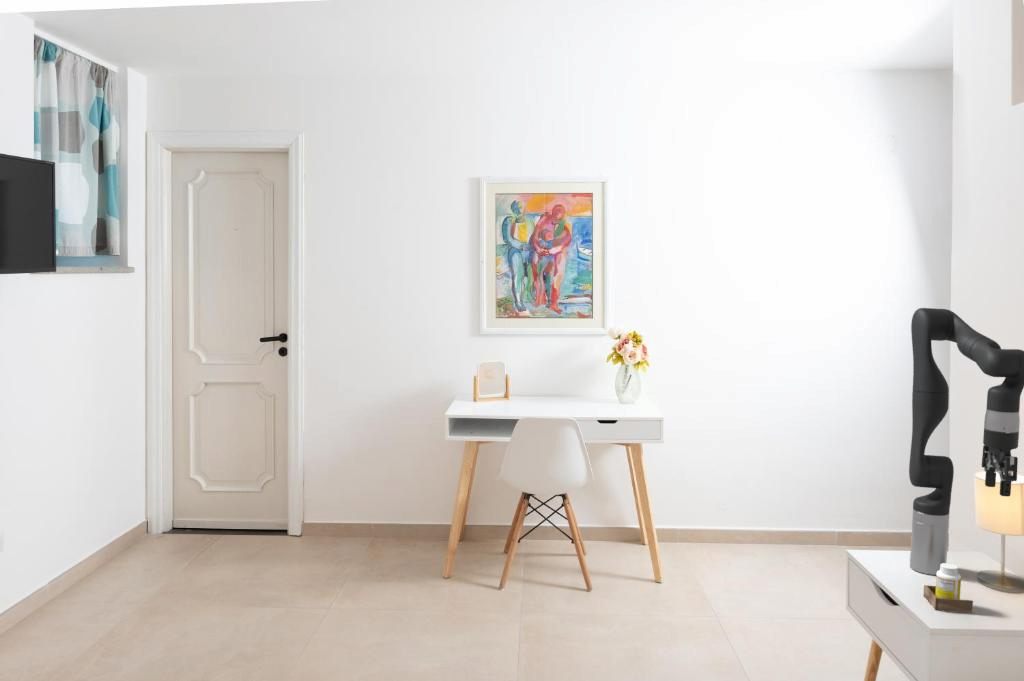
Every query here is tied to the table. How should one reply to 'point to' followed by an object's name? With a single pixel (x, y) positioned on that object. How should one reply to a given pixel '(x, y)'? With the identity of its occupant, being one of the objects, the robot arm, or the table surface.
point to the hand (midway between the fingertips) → (997, 491)
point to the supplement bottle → (948, 582)
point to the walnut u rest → (946, 601)
